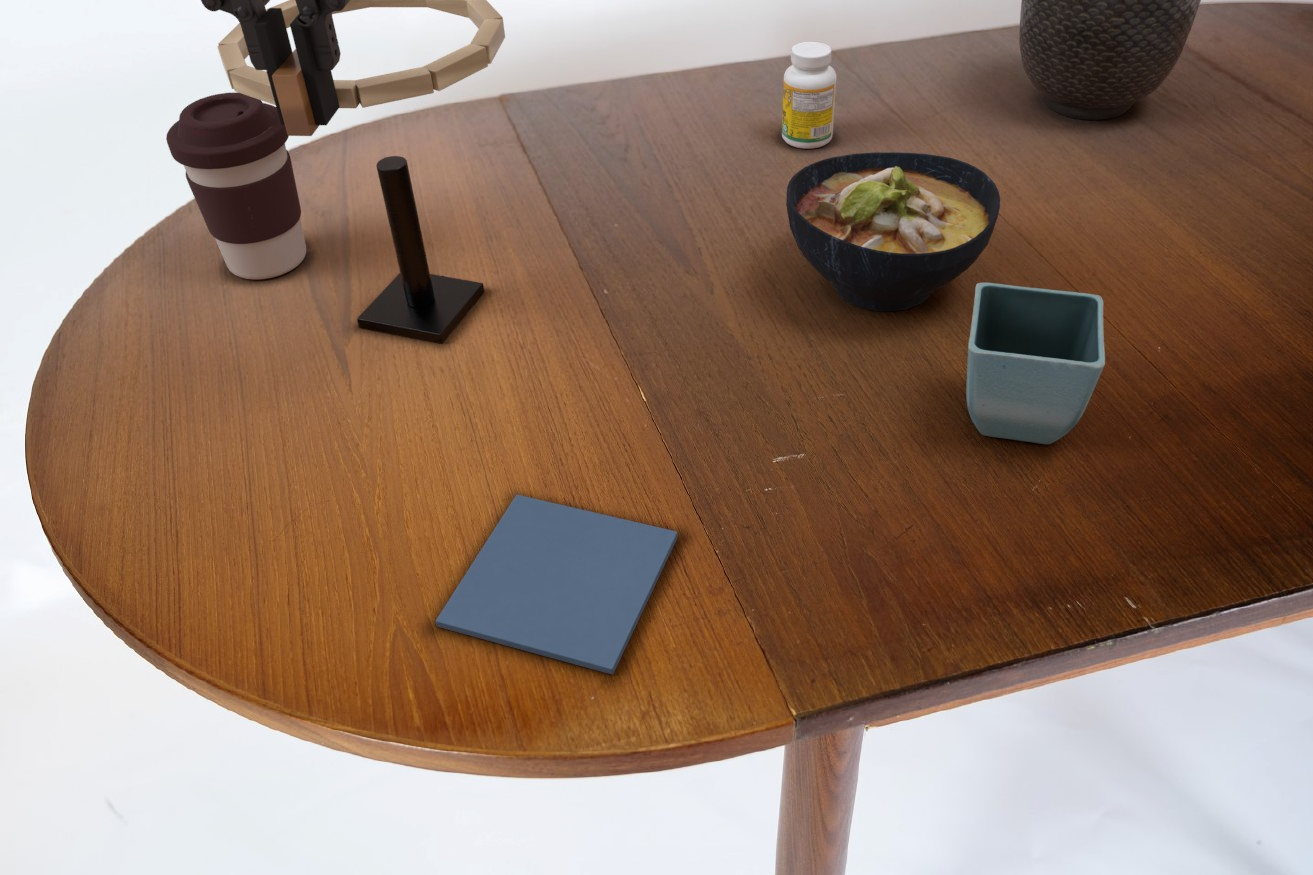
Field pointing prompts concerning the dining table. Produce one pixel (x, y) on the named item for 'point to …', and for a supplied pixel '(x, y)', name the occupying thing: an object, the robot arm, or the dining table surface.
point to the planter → (1101, 51)
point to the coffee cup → (242, 182)
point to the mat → (560, 583)
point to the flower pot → (1032, 360)
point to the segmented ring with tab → (373, 89)
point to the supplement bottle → (809, 96)
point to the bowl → (891, 223)
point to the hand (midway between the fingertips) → (310, 115)
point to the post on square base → (414, 272)
